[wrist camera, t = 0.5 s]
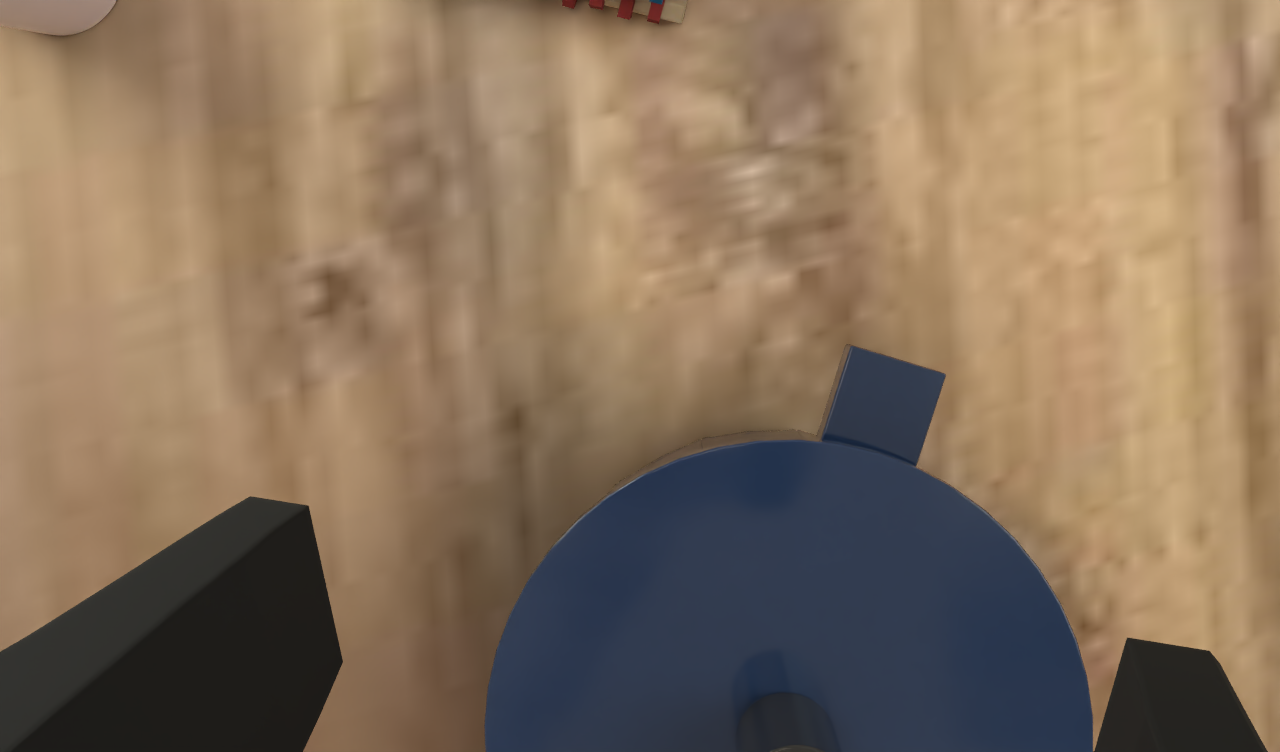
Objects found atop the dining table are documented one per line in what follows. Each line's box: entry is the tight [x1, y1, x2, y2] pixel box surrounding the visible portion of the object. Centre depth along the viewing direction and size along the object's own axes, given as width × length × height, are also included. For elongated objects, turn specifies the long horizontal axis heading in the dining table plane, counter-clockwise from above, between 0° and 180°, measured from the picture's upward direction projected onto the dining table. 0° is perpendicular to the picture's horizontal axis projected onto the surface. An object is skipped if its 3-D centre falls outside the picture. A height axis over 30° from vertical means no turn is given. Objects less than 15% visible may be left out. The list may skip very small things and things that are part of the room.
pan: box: [609, 344, 946, 492], centre depth 31 cm, size 13×19×6 cm
